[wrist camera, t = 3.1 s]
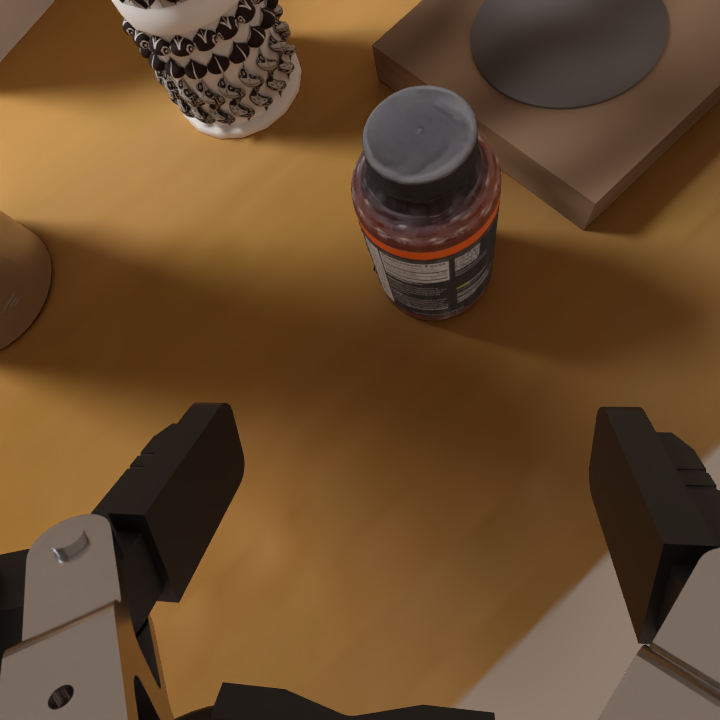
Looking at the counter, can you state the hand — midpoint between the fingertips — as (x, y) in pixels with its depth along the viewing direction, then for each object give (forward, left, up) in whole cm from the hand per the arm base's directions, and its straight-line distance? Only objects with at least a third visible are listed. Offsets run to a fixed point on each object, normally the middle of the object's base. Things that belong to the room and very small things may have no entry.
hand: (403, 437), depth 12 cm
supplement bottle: (-8, +8, -15) cm, 19 cm away
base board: (-12, +22, -15) cm, 29 cm away
